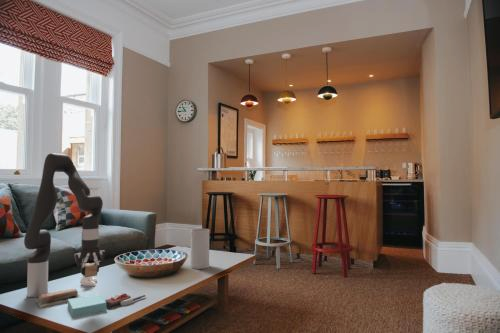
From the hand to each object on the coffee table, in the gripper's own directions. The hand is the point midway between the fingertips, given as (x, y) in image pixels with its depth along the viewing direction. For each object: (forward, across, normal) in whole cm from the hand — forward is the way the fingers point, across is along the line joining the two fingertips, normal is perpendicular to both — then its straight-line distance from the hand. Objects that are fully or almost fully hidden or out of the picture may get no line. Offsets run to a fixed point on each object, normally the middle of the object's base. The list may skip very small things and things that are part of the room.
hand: (89, 273), depth 166 cm
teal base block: (+16, +1, +1) cm, 16 cm away
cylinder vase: (+16, -77, -33) cm, 86 cm away
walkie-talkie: (+16, -15, +3) cm, 23 cm away
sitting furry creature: (+16, -7, -37) cm, 41 cm away
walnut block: (+1, 0, 0) cm, 1 cm away
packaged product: (+16, +10, -18) cm, 26 cm away
